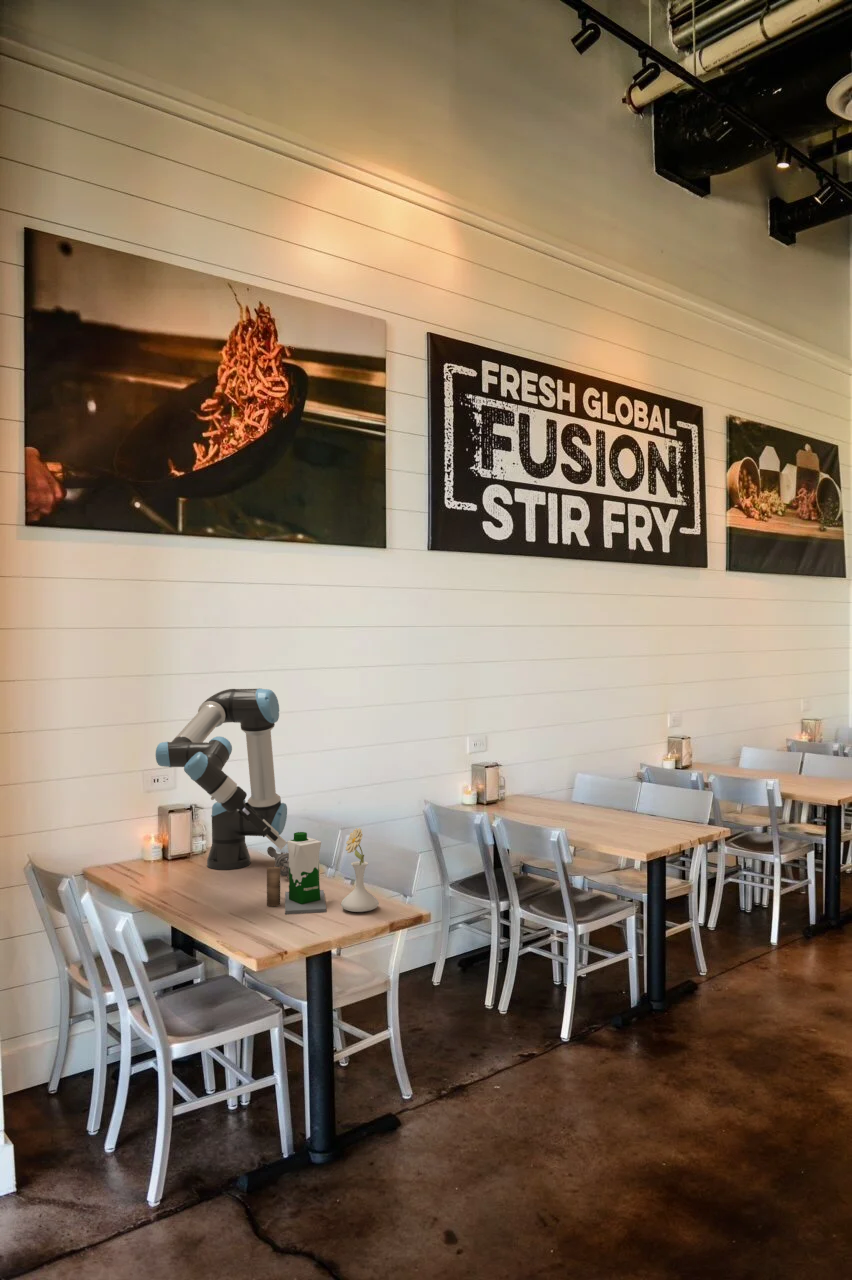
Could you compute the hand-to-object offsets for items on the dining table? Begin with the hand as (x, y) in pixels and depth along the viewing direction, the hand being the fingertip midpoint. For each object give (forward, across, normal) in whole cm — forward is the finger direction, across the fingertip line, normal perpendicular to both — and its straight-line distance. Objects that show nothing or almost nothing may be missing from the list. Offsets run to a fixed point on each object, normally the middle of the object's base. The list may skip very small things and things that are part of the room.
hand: (279, 841), depth 272 cm
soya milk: (+19, 0, -8) cm, 20 cm away
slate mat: (+19, 0, -8) cm, 21 cm away
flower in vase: (+29, +13, +1) cm, 32 cm away
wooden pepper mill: (+13, -2, -15) cm, 20 cm away
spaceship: (+20, -34, -9) cm, 40 cm away
